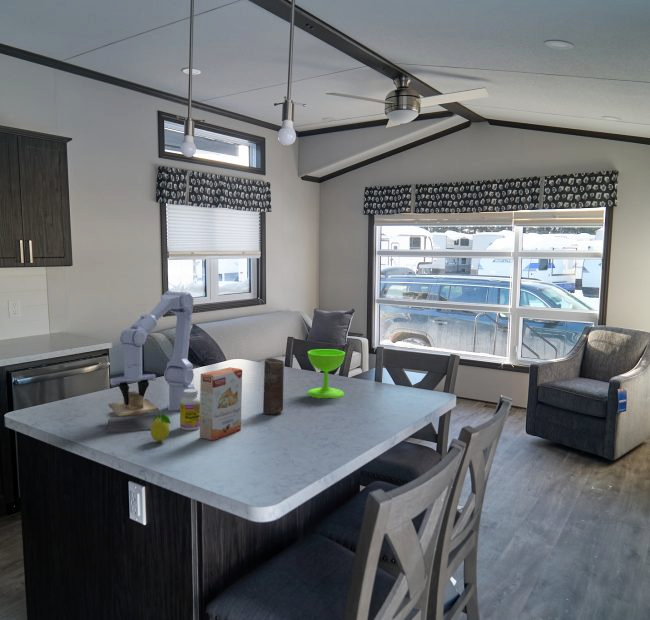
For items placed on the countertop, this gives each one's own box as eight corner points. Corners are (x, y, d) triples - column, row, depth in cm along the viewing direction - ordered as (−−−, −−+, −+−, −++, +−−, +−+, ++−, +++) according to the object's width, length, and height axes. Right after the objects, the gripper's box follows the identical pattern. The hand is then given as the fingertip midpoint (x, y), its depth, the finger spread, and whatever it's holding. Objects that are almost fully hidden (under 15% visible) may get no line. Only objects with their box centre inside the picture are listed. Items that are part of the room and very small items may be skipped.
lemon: (170, 445, 167) (170, 412, 166) (150, 446, 166) (150, 414, 165) (170, 437, 174) (170, 407, 173) (150, 439, 172) (150, 408, 171)
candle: (272, 408, 210) (273, 357, 208) (287, 412, 205) (288, 359, 203) (259, 413, 203) (259, 359, 201) (274, 416, 199) (274, 362, 197)
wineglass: (351, 395, 232) (353, 353, 230) (320, 400, 223) (321, 357, 221) (330, 388, 245) (331, 348, 243) (299, 392, 236) (300, 350, 234)
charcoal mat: (157, 415, 197) (157, 414, 197) (159, 429, 182) (159, 427, 182) (109, 419, 192) (109, 417, 192) (107, 433, 177) (107, 431, 177)
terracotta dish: (148, 406, 208) (148, 400, 208) (148, 415, 197) (148, 408, 197) (114, 408, 204) (114, 402, 204) (113, 418, 193) (113, 410, 193)
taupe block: (146, 401, 196) (146, 388, 195) (158, 410, 185) (158, 396, 185) (108, 405, 188) (108, 392, 188) (118, 415, 178) (118, 402, 177)
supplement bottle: (182, 432, 180) (182, 393, 178) (178, 426, 186) (178, 389, 184) (202, 429, 183) (203, 391, 182) (197, 424, 189) (197, 387, 187)
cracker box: (213, 441, 171) (213, 375, 169) (198, 438, 174) (199, 373, 172) (242, 430, 183) (243, 368, 181) (228, 427, 186) (229, 366, 184)
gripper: (150, 360, 192) (151, 398, 194) (107, 363, 184) (108, 403, 185) (157, 363, 187) (157, 402, 188) (113, 367, 178) (113, 408, 179)
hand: (133, 403), depth 186 cm, fingers closed on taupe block, 4 cm apart
